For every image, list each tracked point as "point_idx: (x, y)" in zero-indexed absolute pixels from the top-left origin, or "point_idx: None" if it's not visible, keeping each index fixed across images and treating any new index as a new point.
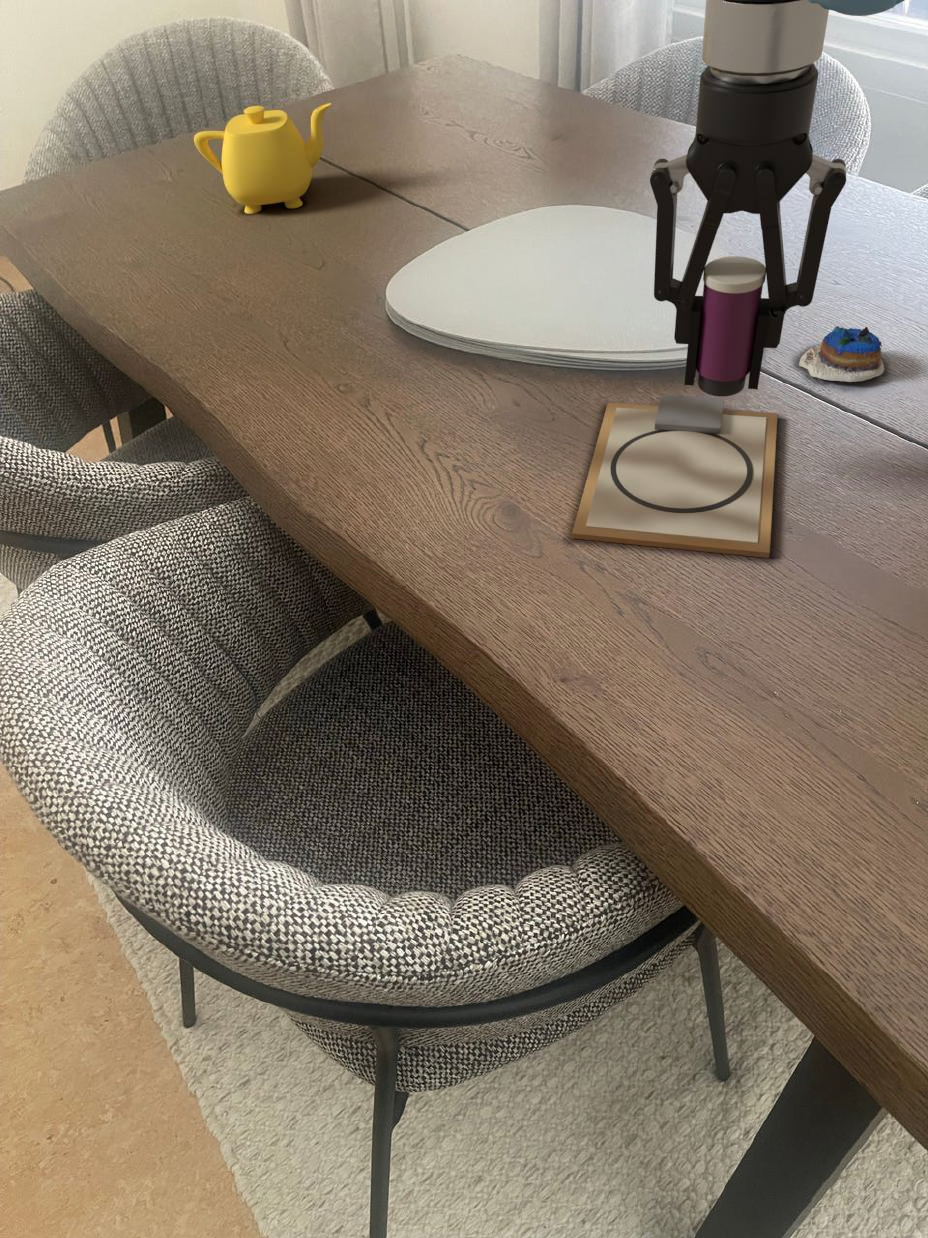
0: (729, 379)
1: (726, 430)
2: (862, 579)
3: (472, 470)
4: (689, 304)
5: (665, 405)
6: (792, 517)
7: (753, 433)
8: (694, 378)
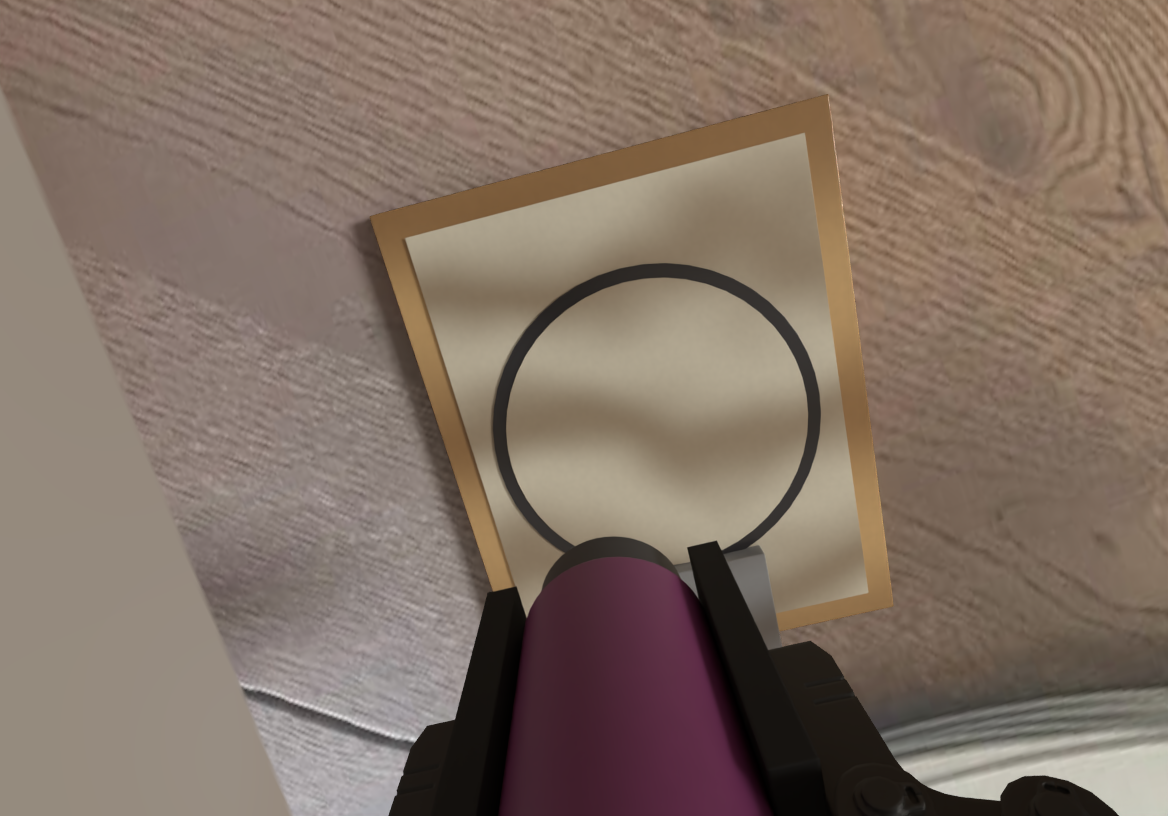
0: (568, 572)
1: None
2: (173, 229)
3: (1145, 258)
4: (849, 799)
5: (761, 624)
6: (379, 375)
7: None
8: (693, 572)
